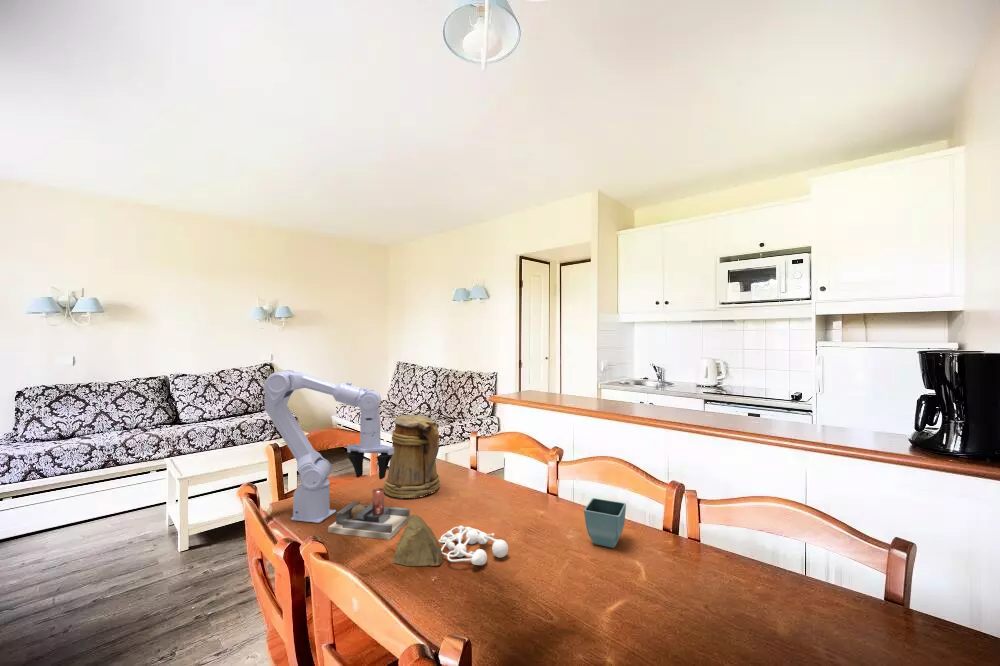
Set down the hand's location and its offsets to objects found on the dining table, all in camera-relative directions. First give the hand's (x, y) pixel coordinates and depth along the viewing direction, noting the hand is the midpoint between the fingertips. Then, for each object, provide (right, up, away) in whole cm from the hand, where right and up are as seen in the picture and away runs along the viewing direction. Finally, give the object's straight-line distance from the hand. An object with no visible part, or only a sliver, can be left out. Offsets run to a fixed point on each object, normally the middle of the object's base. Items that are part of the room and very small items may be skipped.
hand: (370, 477), depth 121 cm
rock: (+20, -10, -28) cm, 36 cm away
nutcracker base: (+3, -10, -9) cm, 14 cm away
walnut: (-1, -7, -8) cm, 11 cm away
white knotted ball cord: (+31, -10, -23) cm, 40 cm away
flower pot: (+65, -10, -19) cm, 69 cm away
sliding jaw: (+4, -9, -9) cm, 13 cm away
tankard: (+10, -11, +17) cm, 22 cm away
